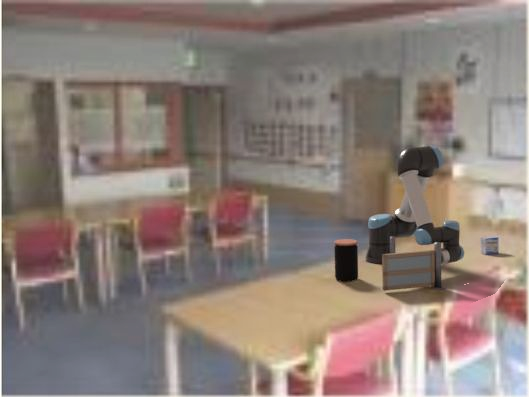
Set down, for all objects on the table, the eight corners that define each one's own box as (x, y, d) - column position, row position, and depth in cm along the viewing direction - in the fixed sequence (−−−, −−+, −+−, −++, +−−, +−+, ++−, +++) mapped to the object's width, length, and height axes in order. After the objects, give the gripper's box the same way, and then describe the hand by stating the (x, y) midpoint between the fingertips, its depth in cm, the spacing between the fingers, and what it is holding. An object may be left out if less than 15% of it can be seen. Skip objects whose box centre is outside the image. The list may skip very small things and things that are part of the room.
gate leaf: (433, 284, 305) (432, 250, 303) (434, 285, 304) (434, 250, 302) (382, 289, 301) (382, 254, 299) (384, 290, 300) (383, 255, 297)
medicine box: (485, 255, 363) (485, 238, 362) (480, 253, 368) (480, 237, 366) (498, 253, 365) (498, 237, 364) (493, 251, 370) (493, 235, 368)
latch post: (390, 277, 326) (389, 237, 323) (390, 276, 328) (390, 236, 326) (395, 277, 325) (395, 237, 323) (396, 276, 328) (395, 236, 325)
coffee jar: (343, 275, 334) (342, 238, 331) (362, 278, 327) (361, 240, 324) (330, 280, 325) (329, 242, 323) (350, 283, 319) (349, 244, 316)
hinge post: (430, 289, 303) (430, 244, 300) (431, 285, 309) (430, 241, 306) (445, 289, 301) (444, 244, 299) (445, 286, 307) (444, 241, 304)
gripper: (448, 268, 318) (412, 277, 304) (426, 263, 328) (390, 271, 315) (448, 251, 317) (412, 260, 303) (426, 247, 327) (390, 255, 314)
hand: (401, 266), depth 309 cm, fingers closed
